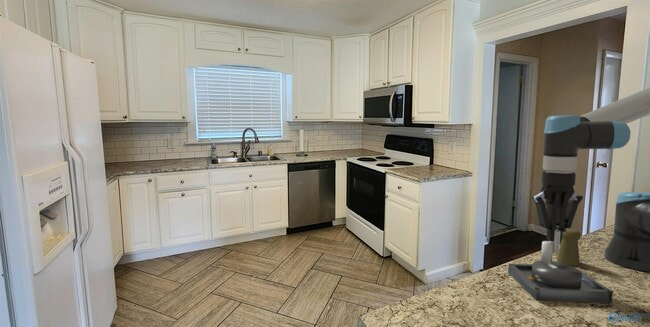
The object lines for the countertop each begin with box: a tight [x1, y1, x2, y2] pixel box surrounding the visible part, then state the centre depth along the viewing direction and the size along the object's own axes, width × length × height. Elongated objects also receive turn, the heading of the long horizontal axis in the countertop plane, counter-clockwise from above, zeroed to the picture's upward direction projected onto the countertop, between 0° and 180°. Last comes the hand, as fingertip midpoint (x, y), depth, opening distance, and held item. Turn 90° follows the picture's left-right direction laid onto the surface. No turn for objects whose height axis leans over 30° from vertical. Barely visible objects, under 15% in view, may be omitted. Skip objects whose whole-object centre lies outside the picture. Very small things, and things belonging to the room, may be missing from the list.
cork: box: [556, 228, 581, 267], centre depth 102 cm, size 6×6×11 cm
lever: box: [532, 240, 582, 289], centre depth 86 cm, size 11×11×9 cm
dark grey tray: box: [507, 263, 614, 304], centre depth 87 cm, size 18×15×3 cm
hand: (553, 251), depth 90 cm, fingers closed
